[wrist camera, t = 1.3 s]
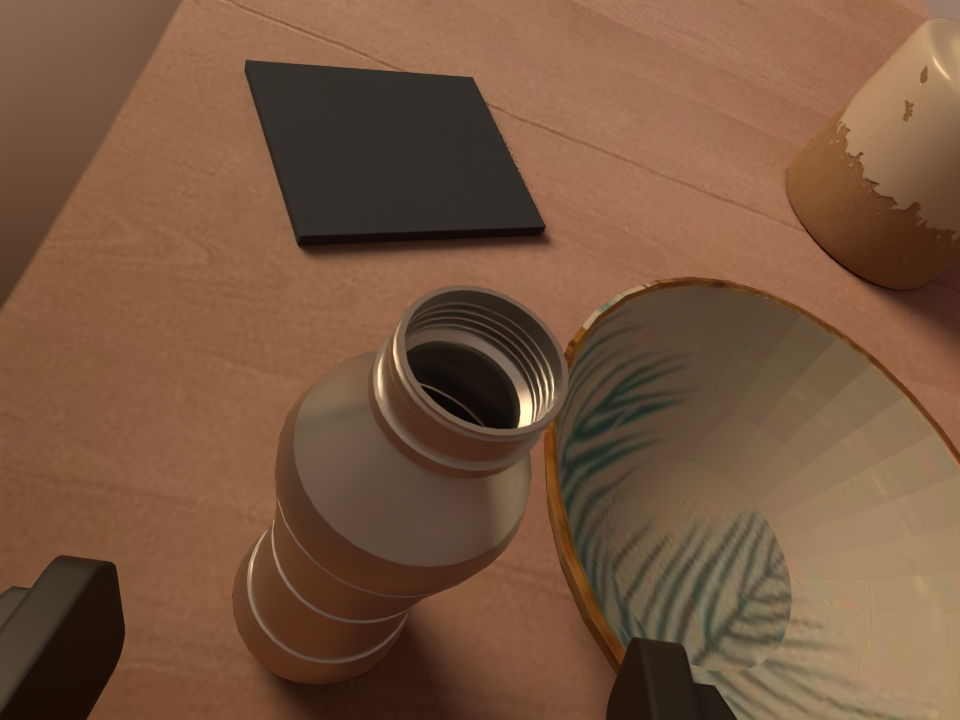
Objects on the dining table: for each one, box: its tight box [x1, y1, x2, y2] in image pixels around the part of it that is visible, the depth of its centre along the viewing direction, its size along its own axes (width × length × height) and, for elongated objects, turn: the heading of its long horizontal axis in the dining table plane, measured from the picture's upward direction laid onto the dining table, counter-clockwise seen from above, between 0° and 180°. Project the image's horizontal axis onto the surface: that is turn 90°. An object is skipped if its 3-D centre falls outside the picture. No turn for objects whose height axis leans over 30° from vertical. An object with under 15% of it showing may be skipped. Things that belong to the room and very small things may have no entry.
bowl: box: [544, 277, 960, 720], centre depth 35 cm, size 25×25×8 cm
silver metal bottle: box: [232, 285, 569, 684], centre depth 22 cm, size 6×7×20 cm
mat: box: [245, 60, 546, 245], centre depth 46 cm, size 16×14×1 cm
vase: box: [786, 17, 960, 290], centre depth 57 cm, size 15×15×17 cm
